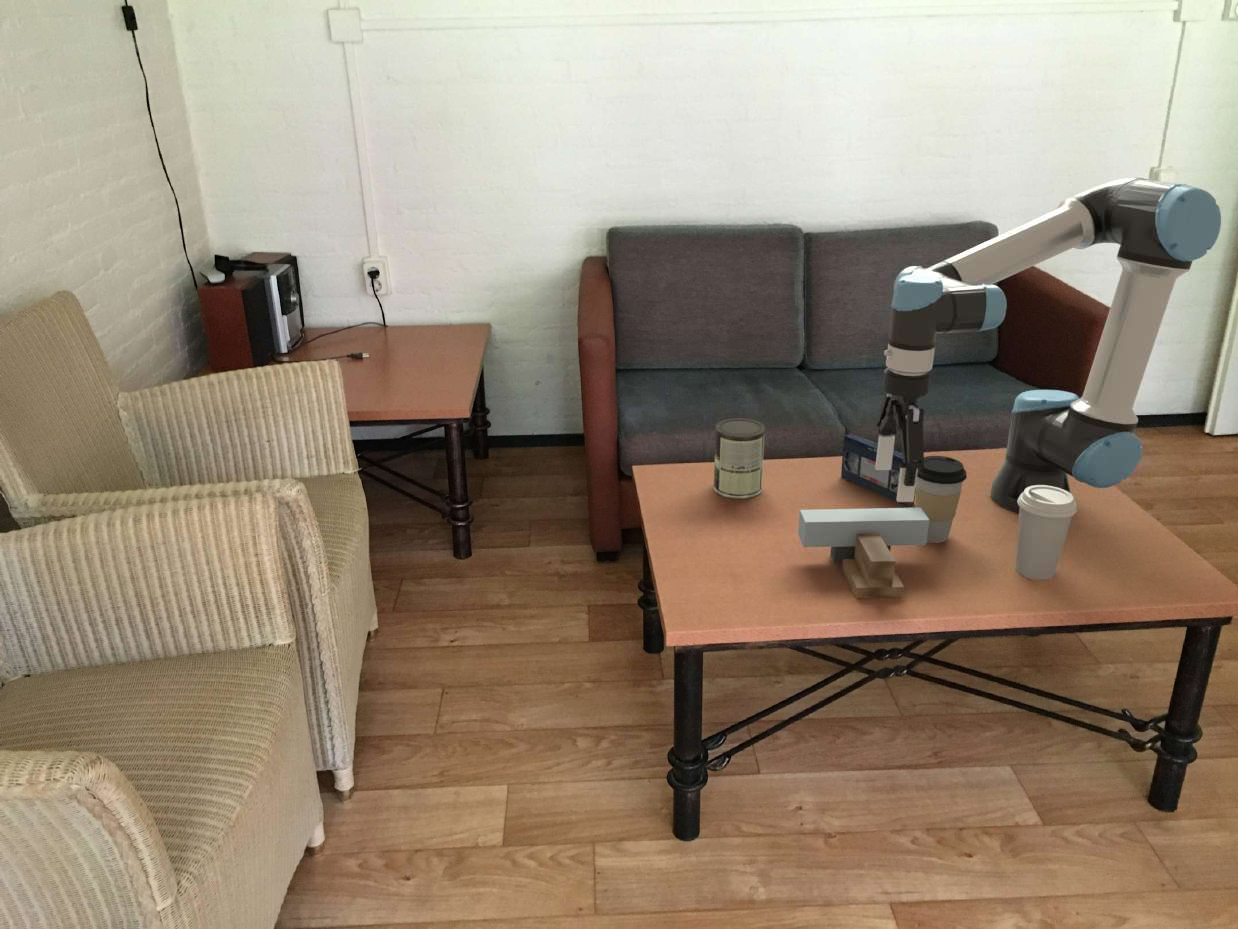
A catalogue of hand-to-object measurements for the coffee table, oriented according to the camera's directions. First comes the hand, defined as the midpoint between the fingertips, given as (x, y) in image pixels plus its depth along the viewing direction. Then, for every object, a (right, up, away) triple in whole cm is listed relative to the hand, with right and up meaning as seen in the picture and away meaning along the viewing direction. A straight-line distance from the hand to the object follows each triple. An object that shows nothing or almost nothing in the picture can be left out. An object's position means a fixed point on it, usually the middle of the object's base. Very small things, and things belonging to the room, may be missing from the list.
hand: (893, 484), depth 173 cm
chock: (-5, -14, +6) cm, 16 cm away
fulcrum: (-4, -17, -2) cm, 18 cm away
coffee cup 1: (+11, -10, +14) cm, 21 cm away
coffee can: (-23, -2, +35) cm, 42 cm away
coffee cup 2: (+26, -16, +2) cm, 30 cm away
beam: (-5, -10, +4) cm, 12 cm away
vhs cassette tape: (+6, -2, +33) cm, 34 cm away
